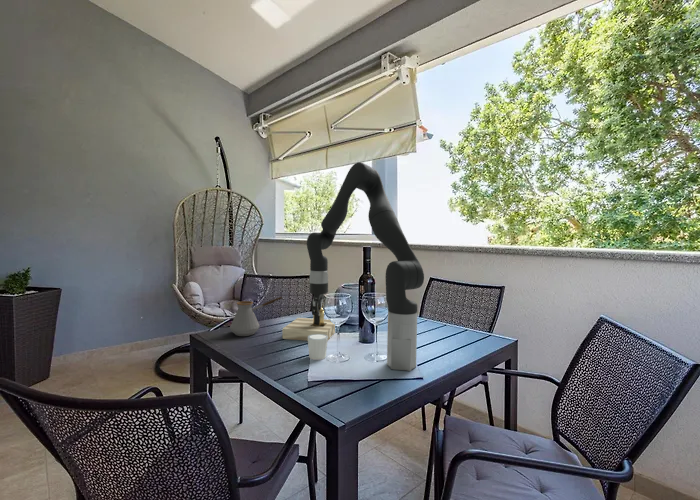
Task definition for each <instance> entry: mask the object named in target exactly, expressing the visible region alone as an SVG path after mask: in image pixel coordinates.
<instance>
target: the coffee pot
mask: <svg viewBox="0 0 700 500" xmlns="http://www.w3.org/2000/svg"><path fill="white" fill-rule="evenodd" d="M279 300H282V302H284V298H283V296H278V297H276V298H274V299H271V300H269V301H267V302H264V303H262V304H261V305H258V306H255V307H252V305H253V304H254V301H251V300H250V301H249V300H242V301H241V300H240V301H238V302H236V305H237V307H238V308H237V310H236V312H235V315H234V318H233V319H232V322H231V325H230V327H229V329H230V331H231V332H232V333H233V334H234V335H235V336H237V337H238V336H239V337H248V336H252V335H254V334H256V332H257V331H258V330H259V328H260V324H259V321H258V319H257V317H256V314H255V313H254V311H256V310H258V309H260V308H263V307H265V306H268V305H271V304H273V303H275V302H276V301H278V302H279Z"/></svg>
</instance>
